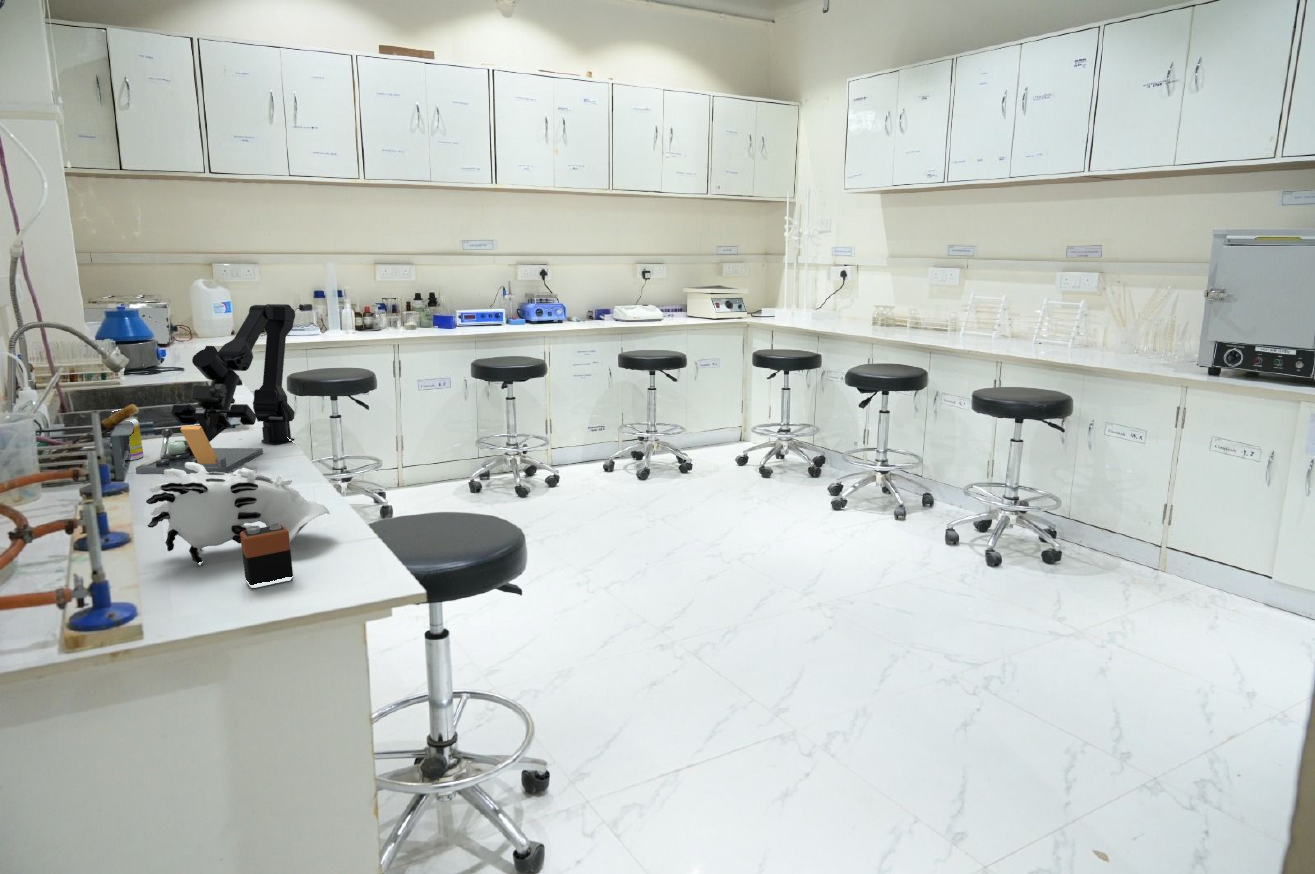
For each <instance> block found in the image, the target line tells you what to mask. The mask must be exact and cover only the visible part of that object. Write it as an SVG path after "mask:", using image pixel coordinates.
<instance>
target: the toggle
mask: <svg viewBox="0 0 1315 874" xmlns="http://www.w3.org/2000/svg"><path fill="white" fill-rule="evenodd" d="M173 432H174V431H173V430H172V429H171V428H167V427H166V428H163V429H162V430H161V435H162V437H163V438H162V445H161V449H160V455H159V457H160V458H161V459H165V458H166V454H167V453H168V443H169V441H170V438H171V437H172V436H173V434H174V433H173Z"/></svg>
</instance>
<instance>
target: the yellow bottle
mask: <svg viewBox="0 0 1315 874" xmlns="http://www.w3.org/2000/svg"><path fill="white" fill-rule="evenodd" d="M118 410H121V408H120V409H115V410H111V412H114V411H118ZM126 421H130V422H132V423H133V424H134V433H133V434H132V435H131V437H130V452H131V459H132V460H131V461H134V460H135V461H136V460H139V459H142V457H144V449H143V442H142V435H141V429H140V422H139V421H138V420H137V419H136V418H130V419H129V420H126Z"/></svg>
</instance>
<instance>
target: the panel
mask: <svg viewBox="0 0 1315 874" xmlns="http://www.w3.org/2000/svg"><path fill="white" fill-rule="evenodd" d="M212 449H213V451H214V452H215V454H216V456H217V458H218V460H217V463H218V467H205V470H206V471H207V472H208V473H209V472H222V473H229V472H231V471H233V470H235V469H236V470H237V468H240V467H241V466H244V465H245V464H246V463H249V462H250V461H252V460H254V459H256V458H257V457H260V456H261V455H263V454H264V451H263V448H261V447H252V448H251V447H247V448H246V447H212ZM186 462H194V463H197V460H196V458H195V456H194V454H193V452H192V450H191V448H190V447H189V446H185V453H182V454H168V452H166V458H165V459H161V458H160V456H158V457H156V458H153V459H151V460H148V461H146V462H144V463H142V464H140V465H139V466H136V467H135V473H136V474H140V475H141V474H143V475H144V474H148V475H149V474H155V475H156V474H159V475H160V474H161V475H162V474H163V475H165V474H164V470H167V469H172V468H173V469H178V470H184V471H185V472H186V473H187V475H189V474H190V473H198V472H196V471H194V470H190V469H187V468H185V463H186Z"/></svg>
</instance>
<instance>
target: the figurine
mask: <svg viewBox="0 0 1315 874" xmlns="http://www.w3.org/2000/svg"><path fill="white" fill-rule="evenodd" d="M185 468H187V469H190V470H194V471H196V472H198V473H190V474H187V473H186V472H185V471H184V470H178V469H173V468H172V469H167V470H164V474H163V475H165V476H169V477H170V476H171V477H173V476H175V477H176V478H179V482H165V483H157V484H155V485H154V486H153V487H151V488H149V489H148V490H149V492H150V493H153V495H152V496H151V497H149V498H147V499H146V501H145V503H146V504H148V505H153V504H154V505H155V504H156V503H158V502H161V504H160V505H155V507H154V509H153V510H152V511H151V512H150V516H154V517H152V518H151V521H150V522H149V523H148V524H147V528H152V529H153V528H155V527H156V526H158V524H159V522H163V521H164V520H168V521H167V522H168V527H167V530H166V534H167V536H166V540H165V542H164V543H165V544H166V547H167V548H166V549H167V552H172V550H174V547H175V543H174V541H175V540H176V536H178V537H180V538H181V539H183V540H184V541H185V542H187V543H188V544H189V545H190V547H189V550H188V552H189V553H190V556H191V559H192V561H193V562H195V563H196V562H197V563H196V564H198V563H199V562H202V561H203V557H201V556H199V555H200V553H199V551H201V550H203V549H204V548H207V547H217V546H221V545H223V544H225V543H227V542H229V541H234V542H236V543H238V544H241V537H240V533H241V532H242V531H246V528H247V527H250V526H252V525H251V524H253V523H257V522H260V523H263V524H265V527H268V526H270V524H273V523H280V524H281V525H283V526H284V527H285V528H286V529H287V530H288V532H289V540H290V542H291V541H292V540H294V538H295V537H296V536H297V535H298V534H299V533H300V532H301V531H302V530H303V529H304V528H305V526H307V525H308V523H310V522H311V521H312V520H314V519H315V518H318V517H320V516H322V515H325V514H328V515H330V511H329V510H328V508H327V507H326V506H325V505H324V504H321V503H318V502H315V501H309V500H307V499H305V497H303V496H301V494H300V493H299V492H300V491H298V490H297V489H294V488H293V487H290V485H291V484H292V483H293V479H291V478H290V479H285V478H283V476H282V475H281V474H276V479H274V478H271V477H268V476H265V475H261V474H260V475H258V474H257V472H256V470H252V469H250V468H246V467H241V468H239V469H236V470H235V471H233V472H232V473H229V472H228V473H222V472H209V473H208V472H207V471H206V470H205V467H204V466H203V465H200V464H197V463H194V462H186V463H185ZM160 491H162V492H161V493H158V492H160ZM154 493H156V494H154ZM162 502H163V503H162ZM244 524H250V525H244ZM200 549H201V550H200ZM203 562H204V561H203Z"/></svg>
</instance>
